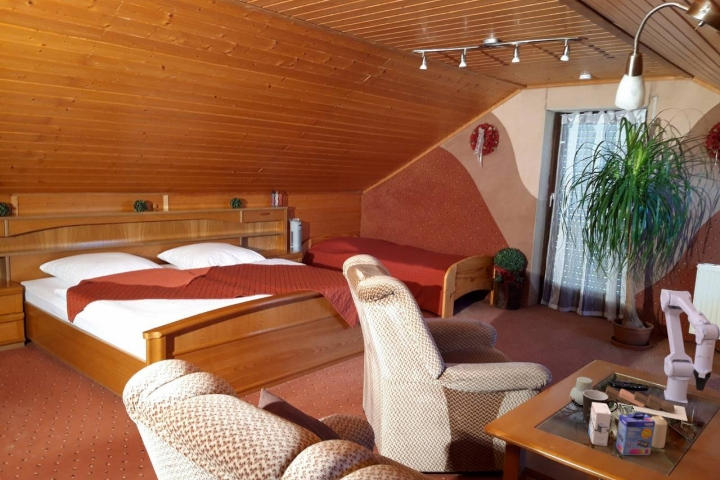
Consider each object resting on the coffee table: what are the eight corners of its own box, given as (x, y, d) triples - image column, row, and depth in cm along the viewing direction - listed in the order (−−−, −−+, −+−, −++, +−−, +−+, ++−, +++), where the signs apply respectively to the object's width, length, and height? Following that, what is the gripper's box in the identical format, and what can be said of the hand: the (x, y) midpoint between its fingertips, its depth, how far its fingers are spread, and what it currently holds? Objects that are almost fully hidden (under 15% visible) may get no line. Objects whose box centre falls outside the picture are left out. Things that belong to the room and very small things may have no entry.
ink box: (587, 432, 203) (591, 401, 201) (603, 434, 202) (606, 403, 200) (592, 444, 195) (595, 412, 193) (608, 446, 194) (611, 414, 192)
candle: (649, 438, 200) (653, 411, 199) (666, 444, 197) (670, 417, 195) (643, 443, 197) (647, 416, 195) (661, 450, 193) (664, 422, 191)
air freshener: (575, 396, 233) (577, 372, 232) (596, 401, 229) (599, 378, 227) (567, 405, 225) (569, 381, 223) (589, 411, 220) (592, 386, 218)
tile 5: (615, 402, 228) (590, 398, 231) (615, 397, 232) (591, 393, 236) (615, 398, 227) (591, 394, 231) (615, 393, 232) (591, 390, 236)
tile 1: (672, 413, 219) (648, 402, 222) (671, 408, 224) (648, 397, 227) (674, 410, 219) (650, 398, 222) (673, 405, 223) (650, 393, 226)
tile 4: (628, 405, 226) (605, 393, 229) (628, 400, 230) (606, 389, 233) (630, 401, 225) (607, 390, 228) (630, 396, 230) (607, 385, 233)
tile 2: (657, 410, 221) (634, 399, 224) (657, 405, 226) (634, 394, 229) (659, 407, 221) (635, 396, 224) (659, 402, 225) (635, 391, 228)
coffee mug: (576, 420, 212) (579, 394, 211) (585, 412, 219) (588, 387, 217) (608, 431, 205) (611, 405, 203) (617, 423, 211) (620, 397, 209)
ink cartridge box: (623, 456, 188) (627, 414, 186) (614, 447, 194) (618, 407, 191) (651, 455, 189) (656, 414, 187) (642, 446, 194) (647, 406, 192)
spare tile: (642, 407, 223) (619, 396, 227) (642, 402, 228) (619, 391, 231) (644, 404, 223) (621, 393, 226) (644, 399, 227) (621, 388, 231)
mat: (614, 394, 236) (615, 393, 236) (684, 407, 225) (684, 407, 225) (614, 407, 224) (614, 406, 224) (687, 421, 214) (687, 420, 214)
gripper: (692, 348, 223) (688, 381, 225) (691, 358, 211) (686, 393, 213) (713, 351, 220) (709, 385, 222) (713, 363, 207) (708, 398, 210)
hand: (699, 389), depth 217 cm, fingers closed
